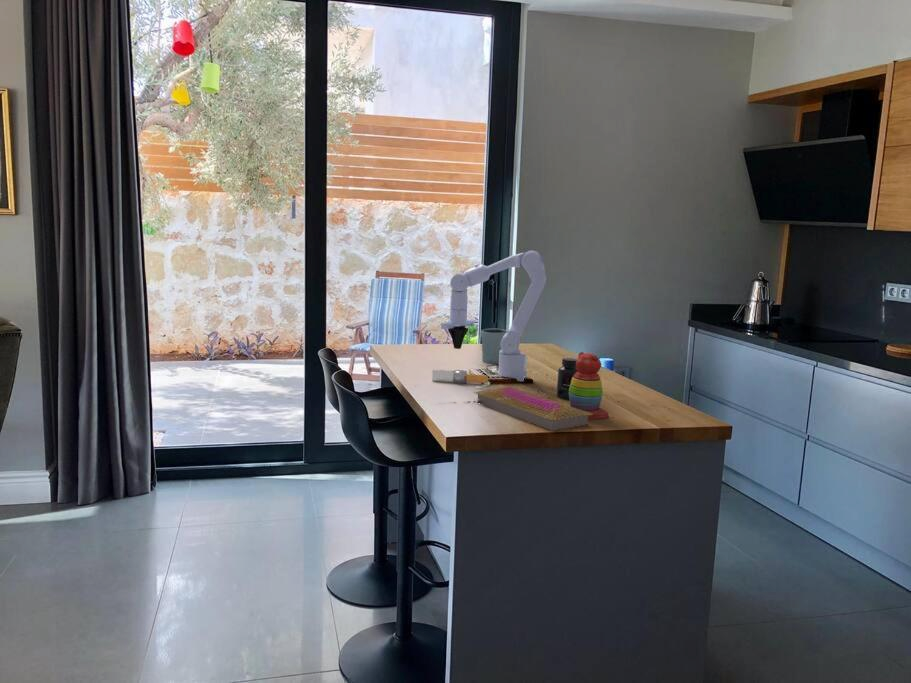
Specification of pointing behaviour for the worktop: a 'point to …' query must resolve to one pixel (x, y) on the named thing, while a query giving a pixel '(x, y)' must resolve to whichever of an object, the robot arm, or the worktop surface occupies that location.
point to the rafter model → (526, 399)
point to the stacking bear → (587, 386)
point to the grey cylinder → (491, 344)
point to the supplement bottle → (565, 377)
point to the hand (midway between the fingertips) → (457, 348)
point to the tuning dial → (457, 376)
